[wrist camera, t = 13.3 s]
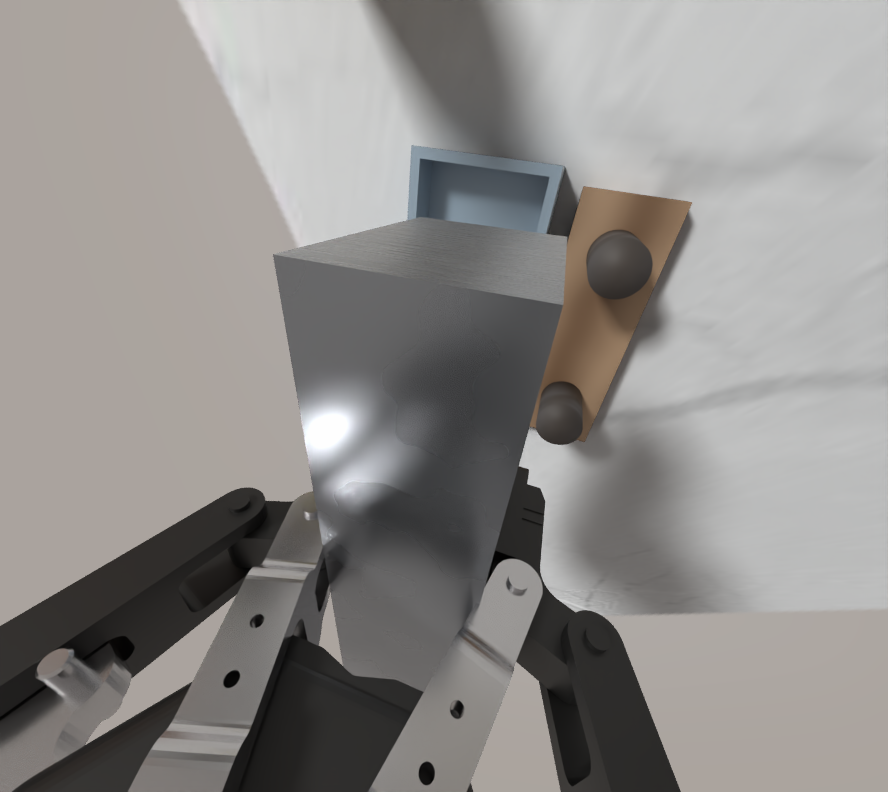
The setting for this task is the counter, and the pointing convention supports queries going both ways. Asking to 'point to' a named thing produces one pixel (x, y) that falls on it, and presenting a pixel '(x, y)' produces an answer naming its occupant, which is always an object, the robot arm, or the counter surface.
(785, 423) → the counter surface
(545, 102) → the counter surface
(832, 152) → the counter surface
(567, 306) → the peg rack
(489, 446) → the steel bar
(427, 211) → the slot tray
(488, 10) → the counter surface
